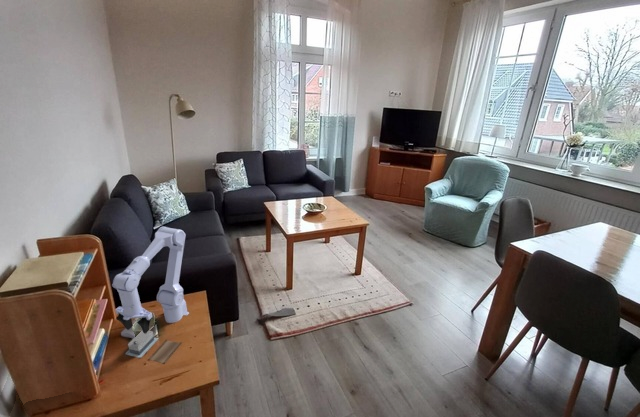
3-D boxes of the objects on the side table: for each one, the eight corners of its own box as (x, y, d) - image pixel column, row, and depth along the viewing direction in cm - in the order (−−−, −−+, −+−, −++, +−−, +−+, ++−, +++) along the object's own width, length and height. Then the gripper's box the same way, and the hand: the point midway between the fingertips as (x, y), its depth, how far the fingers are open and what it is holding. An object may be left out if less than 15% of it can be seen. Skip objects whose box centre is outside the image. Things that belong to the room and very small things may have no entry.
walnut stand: (149, 362, 118) (148, 358, 117) (166, 342, 127) (166, 339, 126) (165, 366, 116) (164, 362, 116) (181, 346, 126) (181, 342, 125)
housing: (145, 337, 127) (143, 328, 125) (154, 339, 126) (152, 330, 124) (130, 352, 120) (127, 343, 118) (140, 355, 119) (137, 345, 117)
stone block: (120, 342, 129) (139, 343, 126) (116, 333, 127) (135, 333, 125) (141, 323, 140) (159, 323, 137) (137, 315, 138) (156, 315, 136)
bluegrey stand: (126, 357, 120) (125, 353, 119) (144, 338, 129) (144, 334, 128) (141, 360, 118) (140, 357, 118) (159, 341, 128) (158, 337, 127)
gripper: (105, 305, 112) (113, 333, 117) (139, 312, 109) (146, 341, 115) (120, 293, 118) (128, 321, 124) (153, 299, 116) (159, 327, 121)
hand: (138, 329), depth 119 cm, fingers open, 7 cm apart
